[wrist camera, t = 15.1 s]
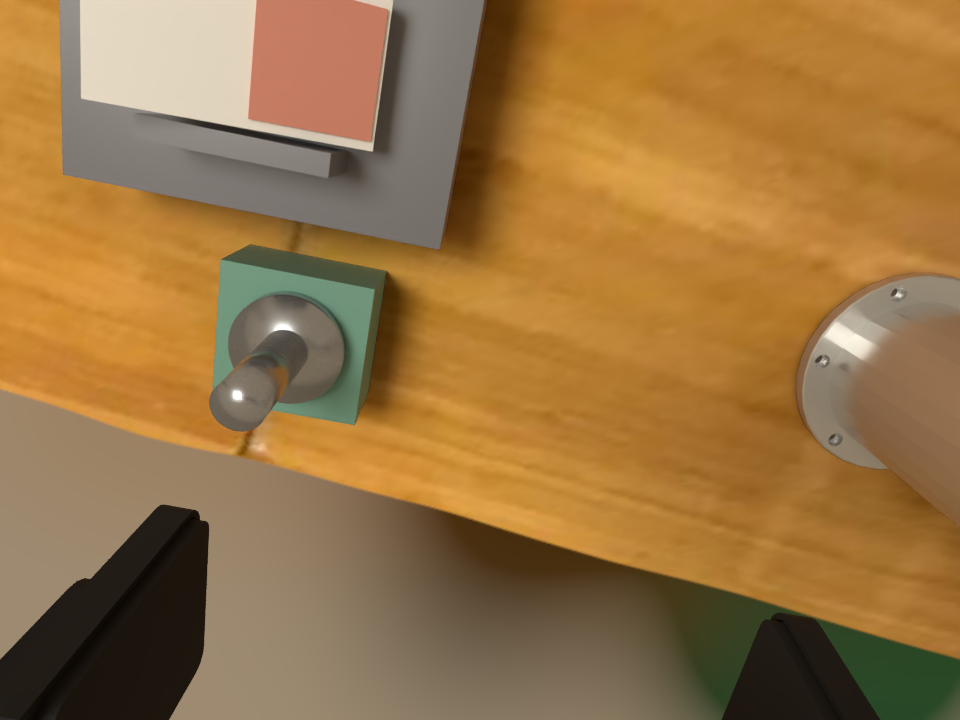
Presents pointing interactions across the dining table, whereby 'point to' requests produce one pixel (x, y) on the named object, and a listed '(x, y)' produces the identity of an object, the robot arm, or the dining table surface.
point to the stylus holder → (330, 283)
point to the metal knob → (278, 358)
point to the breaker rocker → (242, 62)
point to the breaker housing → (299, 162)
